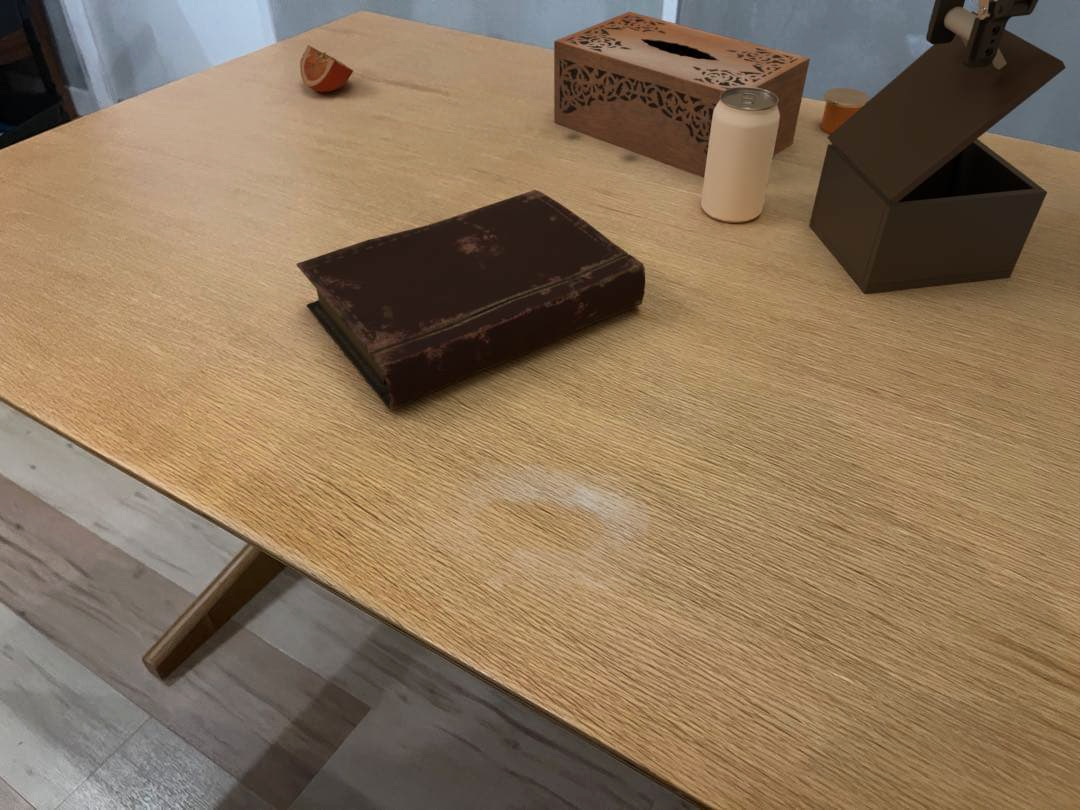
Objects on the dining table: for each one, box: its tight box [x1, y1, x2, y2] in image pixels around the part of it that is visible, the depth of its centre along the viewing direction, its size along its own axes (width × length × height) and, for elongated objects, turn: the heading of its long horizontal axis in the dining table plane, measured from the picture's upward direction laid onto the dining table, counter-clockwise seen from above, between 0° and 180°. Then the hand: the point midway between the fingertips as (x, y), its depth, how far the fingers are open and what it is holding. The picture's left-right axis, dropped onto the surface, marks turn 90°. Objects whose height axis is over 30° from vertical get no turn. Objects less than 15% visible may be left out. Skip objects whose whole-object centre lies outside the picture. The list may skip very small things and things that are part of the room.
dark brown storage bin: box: [808, 138, 1048, 294], centre depth 78 cm, size 15×13×9 cm
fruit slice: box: [299, 45, 354, 93], centre depth 112 cm, size 8×7×5 cm
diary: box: [296, 189, 646, 411], centre depth 73 cm, size 19×25×5 cm
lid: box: [826, 7, 1067, 205], centre depth 70 cm, size 15×13×5 cm
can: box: [700, 87, 780, 224], centre depth 83 cm, size 6×6×12 cm
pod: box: [820, 87, 870, 135], centre depth 101 cm, size 5×5×4 cm
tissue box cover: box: [553, 11, 811, 178], centre depth 98 cm, size 26×14×10 cm, turn 47°
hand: (956, 52), depth 68 cm, fingers closed on lid, 5 cm apart
